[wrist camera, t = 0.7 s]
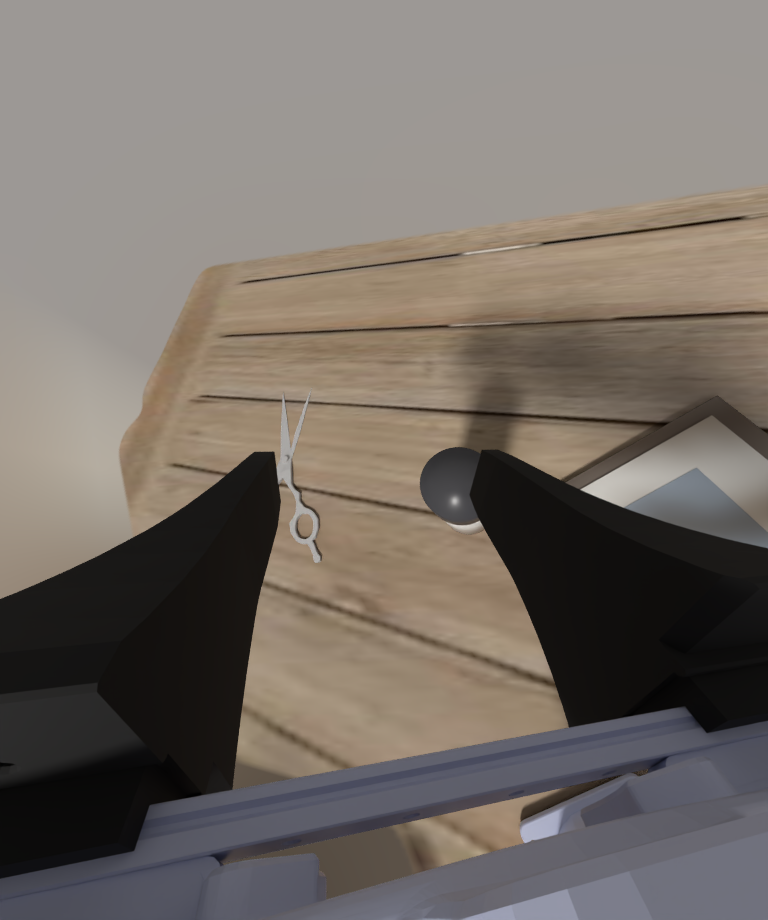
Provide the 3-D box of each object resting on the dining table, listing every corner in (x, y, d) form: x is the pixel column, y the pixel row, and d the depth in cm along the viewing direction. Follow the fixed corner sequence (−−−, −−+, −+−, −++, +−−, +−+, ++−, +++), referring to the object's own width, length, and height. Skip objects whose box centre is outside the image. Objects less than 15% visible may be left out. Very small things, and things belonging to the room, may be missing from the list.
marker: (504, 519, 25) (513, 494, 16) (459, 545, 25) (444, 534, 16) (475, 478, 27) (468, 434, 18) (434, 502, 27) (407, 471, 18)
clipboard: (937, 575, 17) (976, 576, 16) (668, 700, 19) (682, 711, 17) (711, 399, 23) (726, 389, 22) (523, 506, 25) (526, 503, 23)
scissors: (229, 559, 32) (259, 392, 38) (235, 559, 32) (263, 395, 39) (319, 562, 28) (335, 379, 35) (323, 562, 29) (338, 383, 35)
